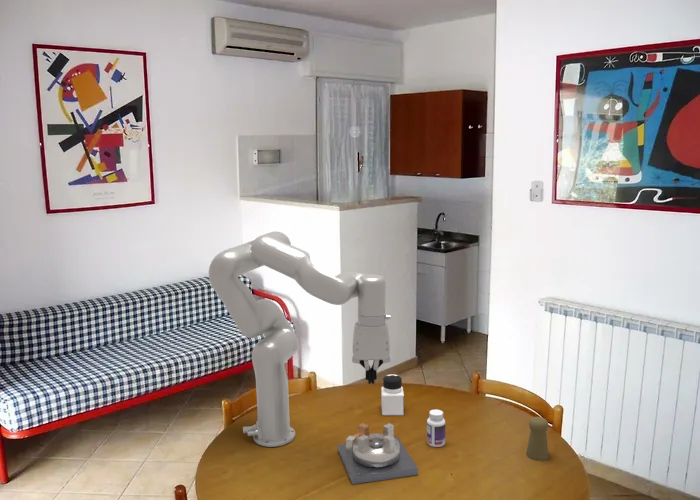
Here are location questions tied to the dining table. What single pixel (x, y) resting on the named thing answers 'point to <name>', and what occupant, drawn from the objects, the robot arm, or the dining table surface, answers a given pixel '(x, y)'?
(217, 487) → the dining table surface
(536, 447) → the olive pawn
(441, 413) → the pill bottle
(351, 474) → the base plate
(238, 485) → the dining table surface
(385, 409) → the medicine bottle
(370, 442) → the round disc with cubes
